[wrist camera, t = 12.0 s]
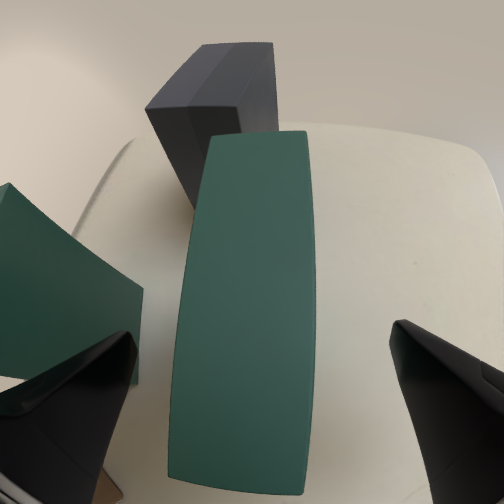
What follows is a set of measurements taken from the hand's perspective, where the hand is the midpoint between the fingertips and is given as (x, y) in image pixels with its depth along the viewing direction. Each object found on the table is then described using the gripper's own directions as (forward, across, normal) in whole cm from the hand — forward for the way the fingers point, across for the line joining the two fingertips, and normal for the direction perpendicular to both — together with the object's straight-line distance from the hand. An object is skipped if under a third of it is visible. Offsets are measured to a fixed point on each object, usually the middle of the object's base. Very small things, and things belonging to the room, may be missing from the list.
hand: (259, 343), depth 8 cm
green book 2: (+6, -1, +6) cm, 8 cm away
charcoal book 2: (+14, 0, -2) cm, 14 cm away
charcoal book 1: (+14, +3, -3) cm, 15 cm away
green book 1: (+7, +10, +5) cm, 13 cm away
